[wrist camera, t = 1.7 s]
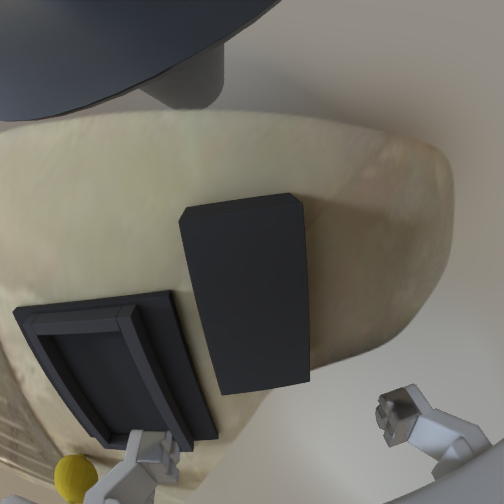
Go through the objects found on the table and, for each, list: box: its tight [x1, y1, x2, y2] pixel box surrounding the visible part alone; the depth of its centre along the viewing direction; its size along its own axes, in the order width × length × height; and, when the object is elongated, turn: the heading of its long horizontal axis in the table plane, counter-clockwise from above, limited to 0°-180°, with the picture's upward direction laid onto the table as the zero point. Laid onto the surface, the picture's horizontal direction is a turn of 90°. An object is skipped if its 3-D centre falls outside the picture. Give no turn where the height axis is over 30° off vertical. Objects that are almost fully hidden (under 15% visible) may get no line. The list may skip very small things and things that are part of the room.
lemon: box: [54, 454, 98, 504], centre depth 22 cm, size 6×6×8 cm
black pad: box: [179, 193, 310, 395], centre depth 17 cm, size 12×6×3 cm, turn 7°
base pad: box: [13, 290, 219, 452], centre depth 20 cm, size 16×14×2 cm
